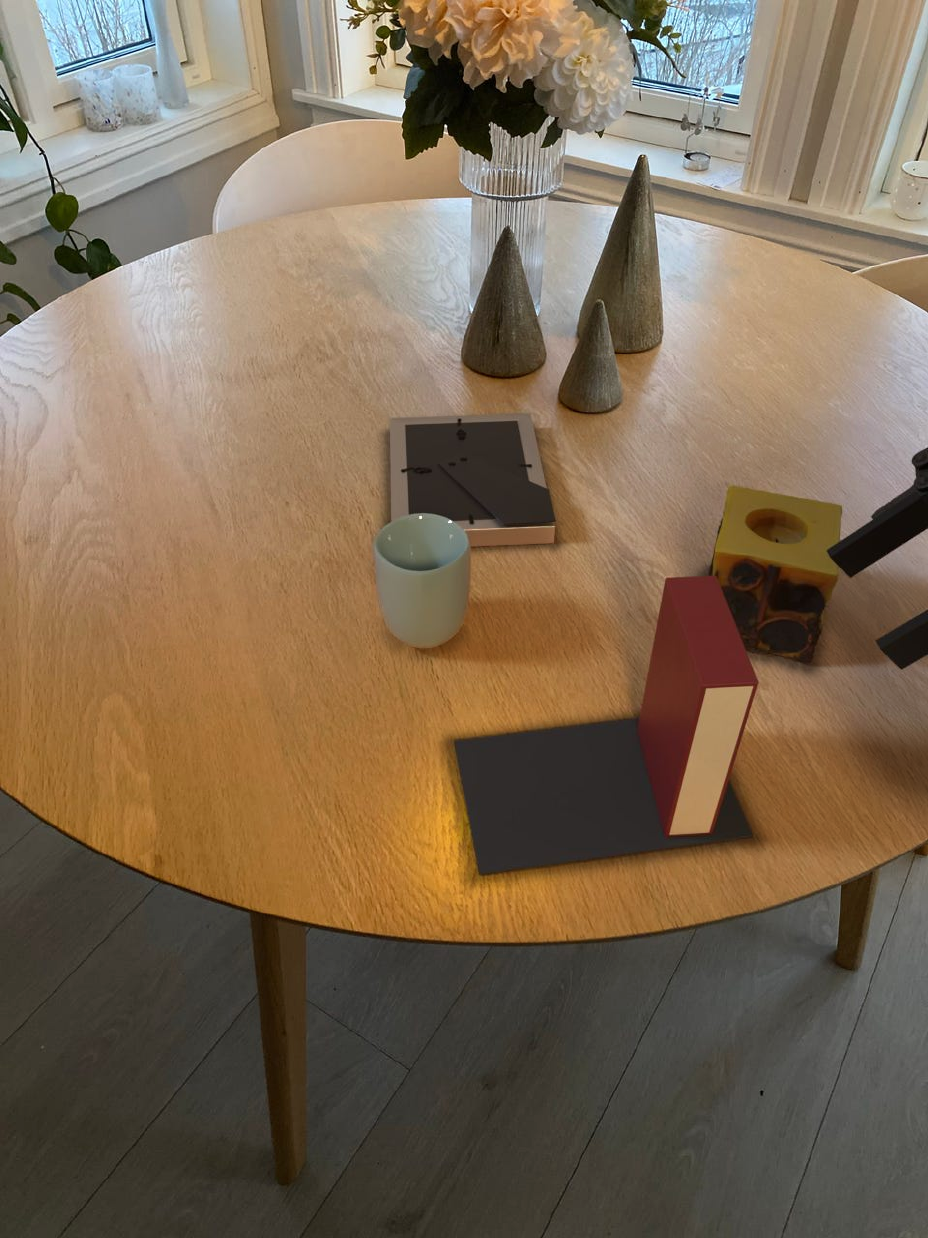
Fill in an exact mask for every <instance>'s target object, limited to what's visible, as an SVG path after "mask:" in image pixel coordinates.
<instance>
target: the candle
mask: <svg viewBox="0 0 928 1238" xmlns="http://www.w3.org/2000/svg"><path fill="white" fill-rule="evenodd" d="M722 512H723V515H722V518H721V520H720V522H719V523H720V524H719V526H718V528H717V534H716V539H715V542H714V543H715V544H714V547H713V552H712V557H711V561H710V565H709V570H708V573H707V576H716V577H717V579H718V582H719V584H720V587H721V589H722V592H723V594H724V597H725V599H726V602H727V604H728V607H729V609H730V612H731V614H732V617H733V619H734V622H735V624H736V627H737V629H738V632H739V634H740V637H741V639H742V642H743V644H744V647H745V649H746V651H749V652H752V653H762V654H764V655H767V654H768V655H769V654H774V655H778V656H781V657H785V658H786V659H787V658H788V659H790V660H793V661H797V662H800V663H803V664H809V665H810V664H811V663H812V662H813V661H814V660H813V659H814V654H815V652H816V647H817V645H818V643H819V640H820V637H821V635H822V632H823V626H824V624H823V621H824V620H823V619H824V614H825V613H824V611H825V609H826V607H827V604H828V602H829V600H831V598H832V595H833V591H834V588H835V587H836V585H837V582H838V577H839V575H840V569H841V568H840V567H839V566H838V565H837V564H836V563H835V562H834V561H833V560H832V559H831V558H830V557H829V555H828V553H827V551H826V550H828V549H829V548H831V547H832V546H834V545H835V544H837V543H838V542H840V541H841V529H842V527H841V526H842V516H843V505H841V504H836V503H833V502H826V501H821V500H816V499H810V498H807V497H806V498H805V497H798V496H792V495H787V494H781V493H774V492H769V491H765V490H760V489H754V488H749V487H745V486H744V487H743V486H738V485H734V484H733V485H729V486H728V488H727V491H726V499H725V504H724V510H723V511H722Z"/></svg>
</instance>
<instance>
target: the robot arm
mask: <svg viewBox="0 0 928 1238" xmlns="http://www.w3.org/2000/svg"><path fill="white" fill-rule="evenodd" d="M910 462H911V465H913V467H914V472H915V479H914V480H913V484H912V485H911V486H910V487H909V488H907V489H906V490H904V491H903V492H901V493H900V494H898V495H897V496H895V497H894V498H892V499H891V500H890V501H888V502H886V503H885V504H884V505H882V506H880V507H879V508H877V509H876V510H875V511H874V512H873V513H872V514H871V515H870V518H871V520H870V521H868V522H866V523H865V524H864V525H862V526H861V527H860V528H858V529H856V530H855V531H853V532H852V533H850V534H848V535H847V536H846V537H844V538H843V539H840V542H838V543H837V544H835V545H834V546H832V547H831V548H829V549H828V550H826V551H827V553H828V555H829V557H830V558H831V559H832V560H833V561H834V562H835V563H836V564H837V565H838V566H839V567H840V568H839V569H841V570H842V572H843V573H845V574H846V576H847V577H848V578H850V579H852V578H853V577H855V576H856V575H858V574H860V573H862V572H863V571H864V570H866V569H868V567H870V566H872V565H874V564H875V563H877V562H878V561H880V560H881V559H883V558H884V557H886V556H888V555H889V554H891V553H892V552H894V551H896V550H897V549H898V548H900V547H902V546H903V545H905V544H906V543H908V542H910V541H911V540H913V539H914V538H916V537H917V536H919V535H921V534H922V533H924V532H925V531H927V530H928V446H927V447H925V448H923V449H922V450H919V451H917V452H916V453H915V454H914V455H913V456H912V458H911V461H910ZM874 642H875V643H876V645H877V646H878V648H879V650H880V651H881V652H882V653H883V654H884V655H885V656H886V657H887V658H888V659H889V660H890V661H892V663H893V664H894V665H895V666H897V667H898V669H900V671H903V670H904V669H906V668H907V667H909V666H911V665H912V664H914V663H916V662H918V661H920V660H921V659H923V658H925V657H926V656H928V608H926V609H925V610H924V611H922V612H920V613H919V614H917V615H916V616H913V617H912V618H910V619H909V620H907V621H905V622H904V623H902V624H901V625H899V626H897V627H895V628H893V629H892V630H890V631H889V632H887V633H885V634H883V635H882V636H880V637H879V638H877V639H875V641H874Z"/></svg>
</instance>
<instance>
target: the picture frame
mask: <svg viewBox="0 0 928 1238" xmlns="http://www.w3.org/2000/svg"><path fill="white" fill-rule="evenodd" d="M389 443H390V444H389V452H390V453H389V455H390V456H389V457H390V459H389V460H390V461H389V462H390V463H389V465H390V522H392V521H394V520H396V519H398V518H401V517H403V516H406V515H411V514H418V513H428V514H435V515H440V516H443V517H445V518H448V519H450V520H452V521H454V522H455V523H457V524H458V525H459V526H460V527H461V528H462V529H463V530H464V531H465V532H466V534H467V535H468V537H469V542H470V548H473V547H475V548H476V547H494V546H495V547H496V546H497V547H499V546H520V545H542V544H544V545H545V544H554V543H555V532H556V524H555V523H556V521H557V520H556V515H555V510H554V507H553V506H554V505H553V503H552V502H553V501H552V498H551V493H550V489H549V488H547V482H546V478H545V474H544V469H543V464H542V461H541V455H540V451H539V446H538V441H537V437H536V433H535V427H534V423H533V418H532V415H531V412H520V413H519V412H518V413H516V412H515V413H514V412H513V413H491V414H490V413H489V414H463V415H462V414H461V415H437V416H436V415H435V416H434V415H433V416H413V417H412V416H411V417H410V416H407V417H390V418H389Z"/></svg>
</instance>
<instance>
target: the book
mask: <svg viewBox="0 0 928 1238" xmlns="http://www.w3.org/2000/svg"><path fill="white" fill-rule="evenodd" d="M753 667H754V666H753V664H752V662H751V659H750V657H749V655H748V652H747V650H746V649H745V647H744V644H743V642H742V639H741V637H740V634H739V632H738V629H737V627H736V624H735V622H734V619H733V617H732V614H731V612H730V609H729V607H728V604H727V602H726V599H725V597H724V594H723V592H722V589H721V587H720V584H719V582H718V579H717V577H716V576H708V575H698V576H676V577H672V576H671V577H665V581H664V586H663V591H662V596H661V601H660V607H659V611H658V617H657V622H656V628H655V634H654V638H653V644H652V649H651V654H650V660H649V665H648V670H647V676H646V681H645V685H644V691H643V696H642V701H641V708H640V713H639V717H638V718H639V723H638V728H637V732H638V736H639V740H640V744H641V748H642V752H643V755H644V759H645V763H646V767H647V771H648V775H649V779H650V782H651V786H652V790H653V794H654V798H655V802H656V806H657V809H658V813H659V817H660V821H661V825H662V829H663V833H664V836H665V837H671V836H688V835H705V834H712V833H713V830H714V826H715V823H716V820H717V817H718V813H719V810H720V807H721V804H722V800H723V797H724V794H725V791H726V787H727V784H728V781H730V777H731V774H732V771H733V768H734V764H735V761H736V758H737V755H738V751H739V747H740V745H741V742H742V738H743V736H744V731H745V728H746V726H747V721H748V718H749V716H750V712H751V709H752V707H753V703H754V699H755V696H756V693H757V690H758V687H759V680H758V677H757V675H756V672H755V670H754V668H753Z"/></svg>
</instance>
